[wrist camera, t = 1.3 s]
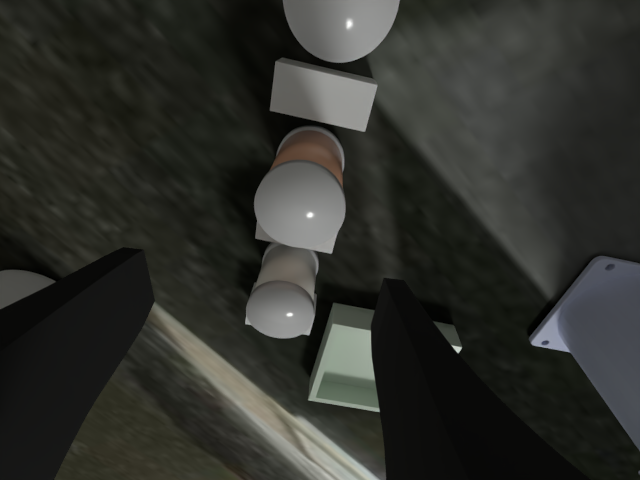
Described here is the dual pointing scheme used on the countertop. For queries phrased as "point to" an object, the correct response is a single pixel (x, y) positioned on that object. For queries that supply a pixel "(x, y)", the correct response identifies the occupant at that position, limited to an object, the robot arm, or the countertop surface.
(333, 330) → the tray
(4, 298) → the pill bottle
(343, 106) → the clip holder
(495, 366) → the countertop surface
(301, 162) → the marked fuse
